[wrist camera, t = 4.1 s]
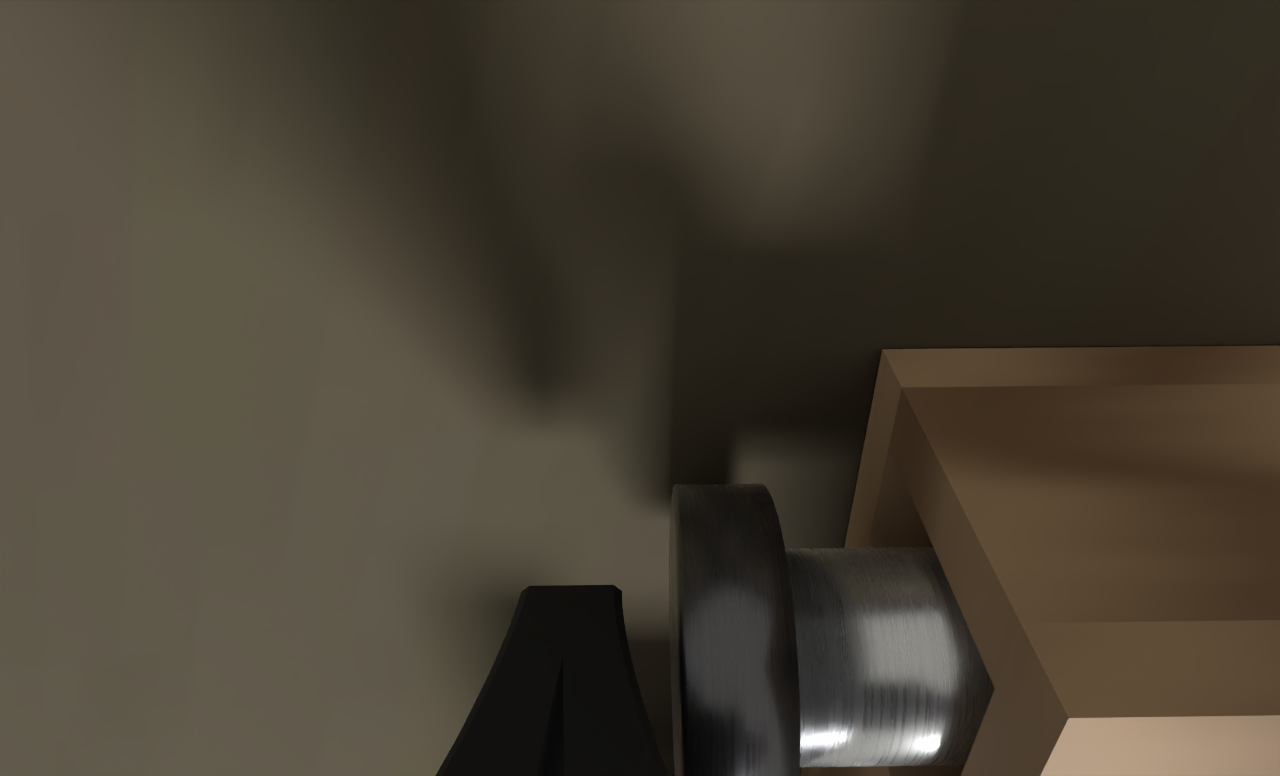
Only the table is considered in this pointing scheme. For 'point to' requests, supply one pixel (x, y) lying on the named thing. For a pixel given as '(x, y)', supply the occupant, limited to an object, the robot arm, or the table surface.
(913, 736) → the knob
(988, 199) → the table surface
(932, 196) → the table surface
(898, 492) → the catch block
